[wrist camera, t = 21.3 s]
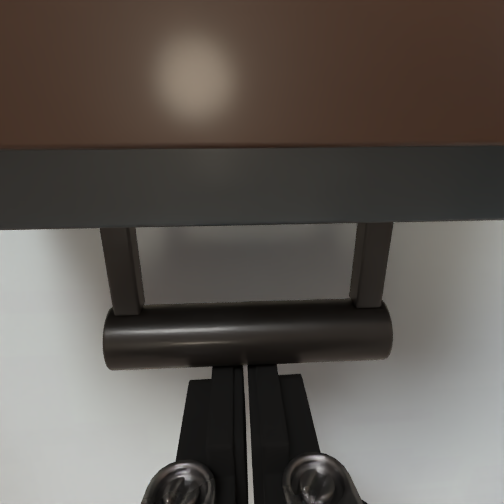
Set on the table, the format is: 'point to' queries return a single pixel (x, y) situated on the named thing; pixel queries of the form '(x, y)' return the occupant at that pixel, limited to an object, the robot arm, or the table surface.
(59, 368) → the table surface
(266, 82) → the cabinet
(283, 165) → the drawer
